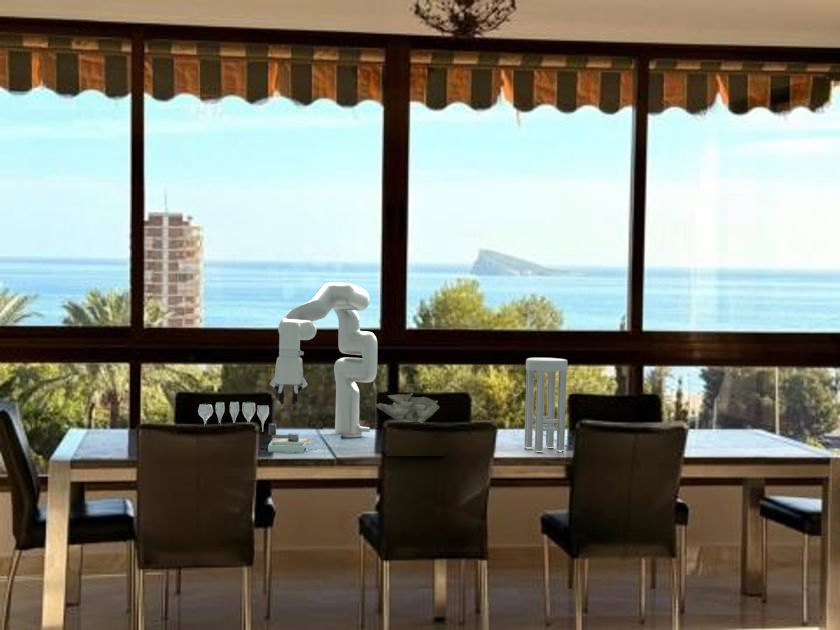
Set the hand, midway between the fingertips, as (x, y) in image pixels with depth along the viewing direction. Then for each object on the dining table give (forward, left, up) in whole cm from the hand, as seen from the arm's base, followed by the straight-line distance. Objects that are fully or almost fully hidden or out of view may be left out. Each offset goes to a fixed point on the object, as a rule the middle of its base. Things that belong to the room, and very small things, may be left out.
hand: (288, 403), depth 457 cm
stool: (-97, -17, -18) cm, 100 cm away
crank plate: (0, -14, -17) cm, 22 cm away
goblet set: (+25, -37, -18) cm, 49 cm away
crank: (+3, -12, -16) cm, 20 cm away
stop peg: (0, 0, -1) cm, 1 cm away
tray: (0, 0, -17) cm, 17 cm away
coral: (-45, -3, -18) cm, 48 cm away
